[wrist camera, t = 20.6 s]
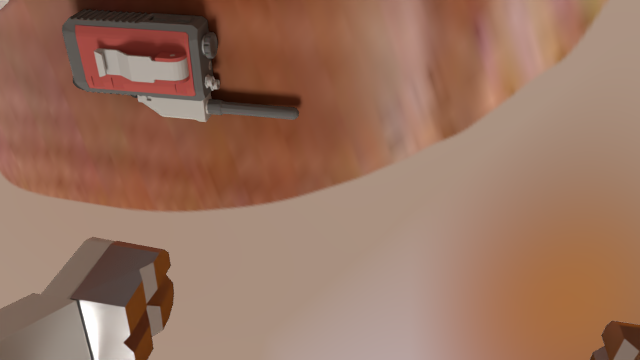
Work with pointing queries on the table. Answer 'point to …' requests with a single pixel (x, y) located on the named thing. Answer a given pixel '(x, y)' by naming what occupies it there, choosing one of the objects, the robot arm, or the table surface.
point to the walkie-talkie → (153, 63)
